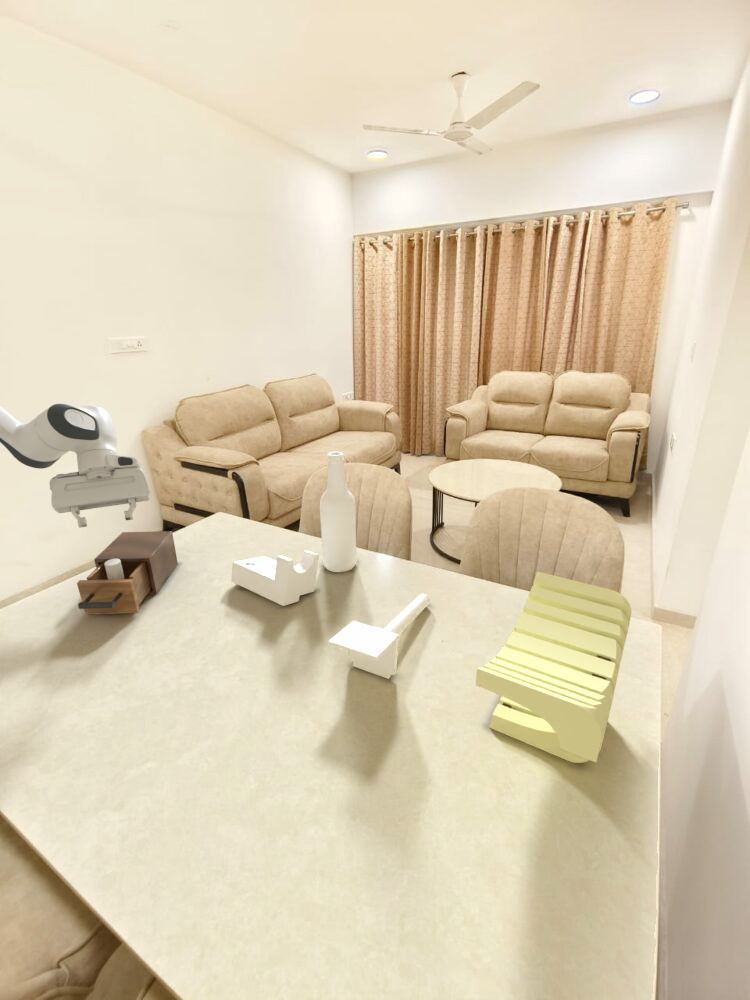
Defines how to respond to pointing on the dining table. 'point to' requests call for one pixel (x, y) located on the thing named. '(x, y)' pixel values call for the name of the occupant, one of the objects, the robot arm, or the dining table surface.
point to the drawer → (115, 589)
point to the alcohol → (338, 519)
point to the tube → (114, 569)
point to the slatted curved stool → (560, 668)
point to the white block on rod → (378, 640)
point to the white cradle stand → (277, 576)
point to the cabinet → (145, 554)
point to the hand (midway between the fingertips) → (106, 522)
